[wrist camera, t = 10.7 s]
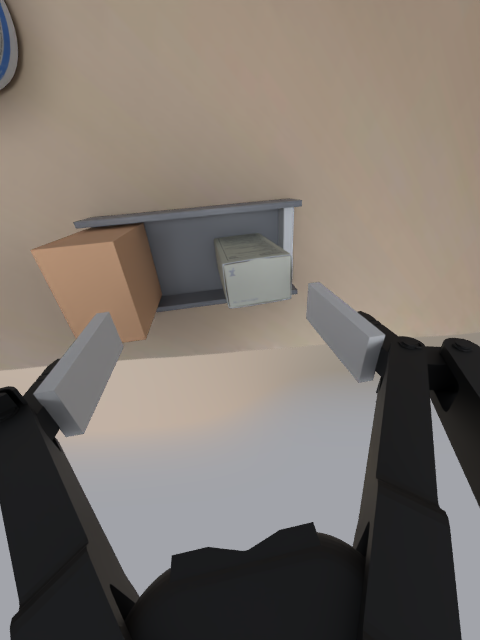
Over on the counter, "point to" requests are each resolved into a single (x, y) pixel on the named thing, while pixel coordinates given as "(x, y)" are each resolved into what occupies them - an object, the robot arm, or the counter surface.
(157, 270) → the tray
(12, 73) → the supplement tub
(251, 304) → the skincare box
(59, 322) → the counter surface
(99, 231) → the block
